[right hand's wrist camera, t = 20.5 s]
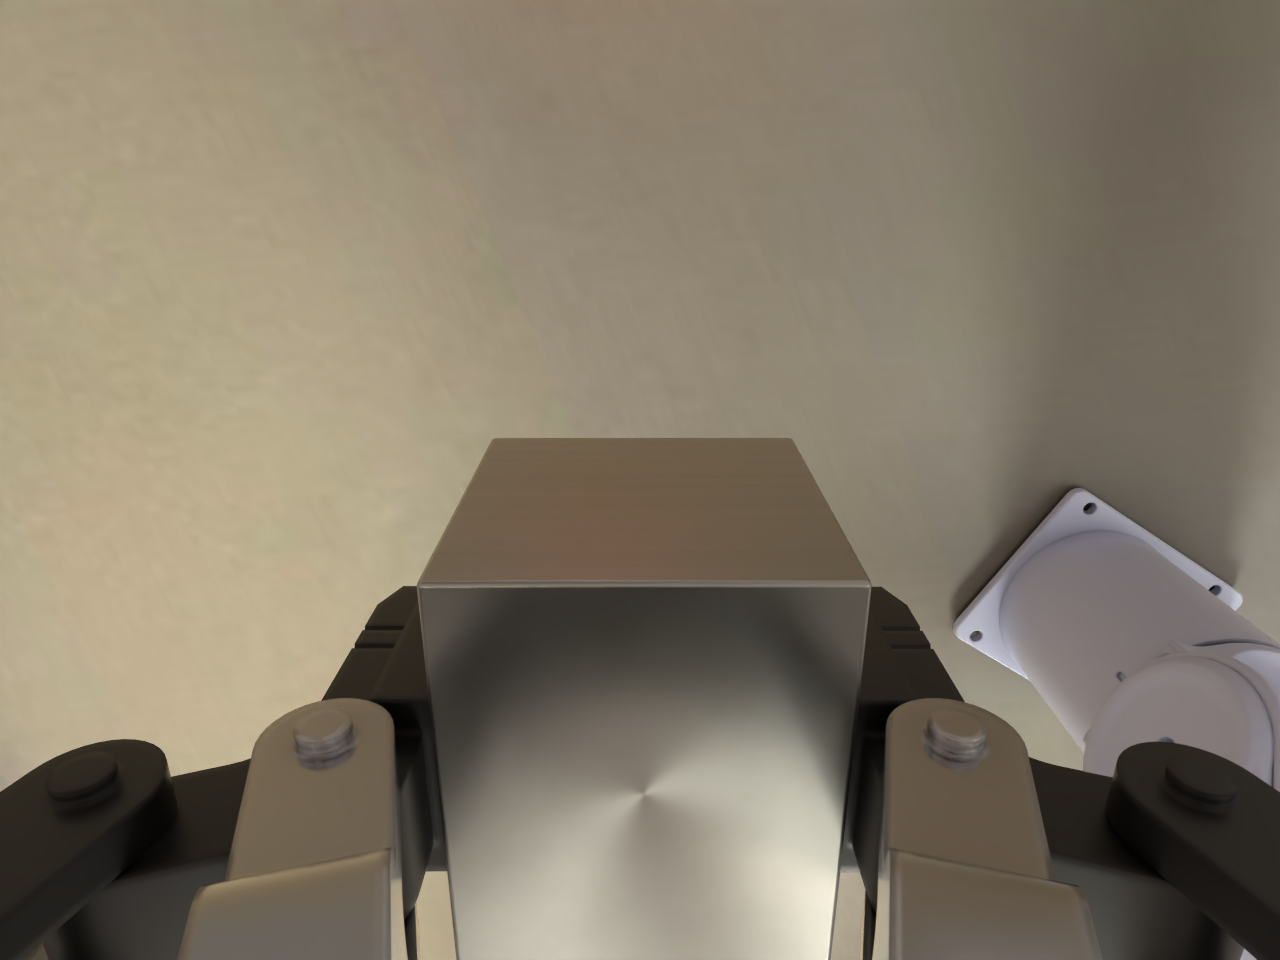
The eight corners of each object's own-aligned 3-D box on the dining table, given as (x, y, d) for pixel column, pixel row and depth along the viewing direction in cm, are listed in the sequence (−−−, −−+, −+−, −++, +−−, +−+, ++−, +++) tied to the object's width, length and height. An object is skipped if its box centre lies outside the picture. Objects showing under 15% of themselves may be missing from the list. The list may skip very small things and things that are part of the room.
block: (792, 436, 12) (874, 582, 8) (773, 724, 13) (832, 966, 9) (491, 436, 12) (414, 582, 8) (510, 724, 13) (455, 967, 9)
